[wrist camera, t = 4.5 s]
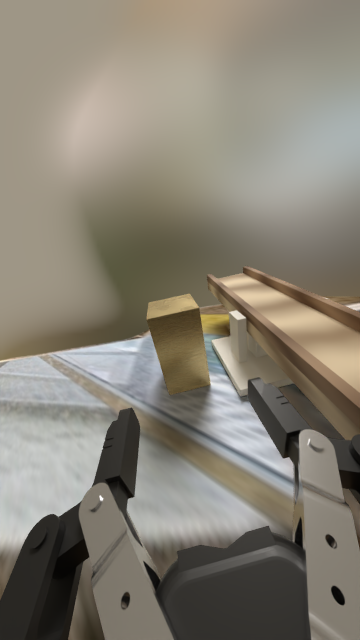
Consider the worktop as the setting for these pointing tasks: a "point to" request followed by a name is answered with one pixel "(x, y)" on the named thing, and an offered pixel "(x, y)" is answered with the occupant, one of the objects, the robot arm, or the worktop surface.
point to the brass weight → (179, 342)
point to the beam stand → (246, 357)
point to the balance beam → (302, 340)
